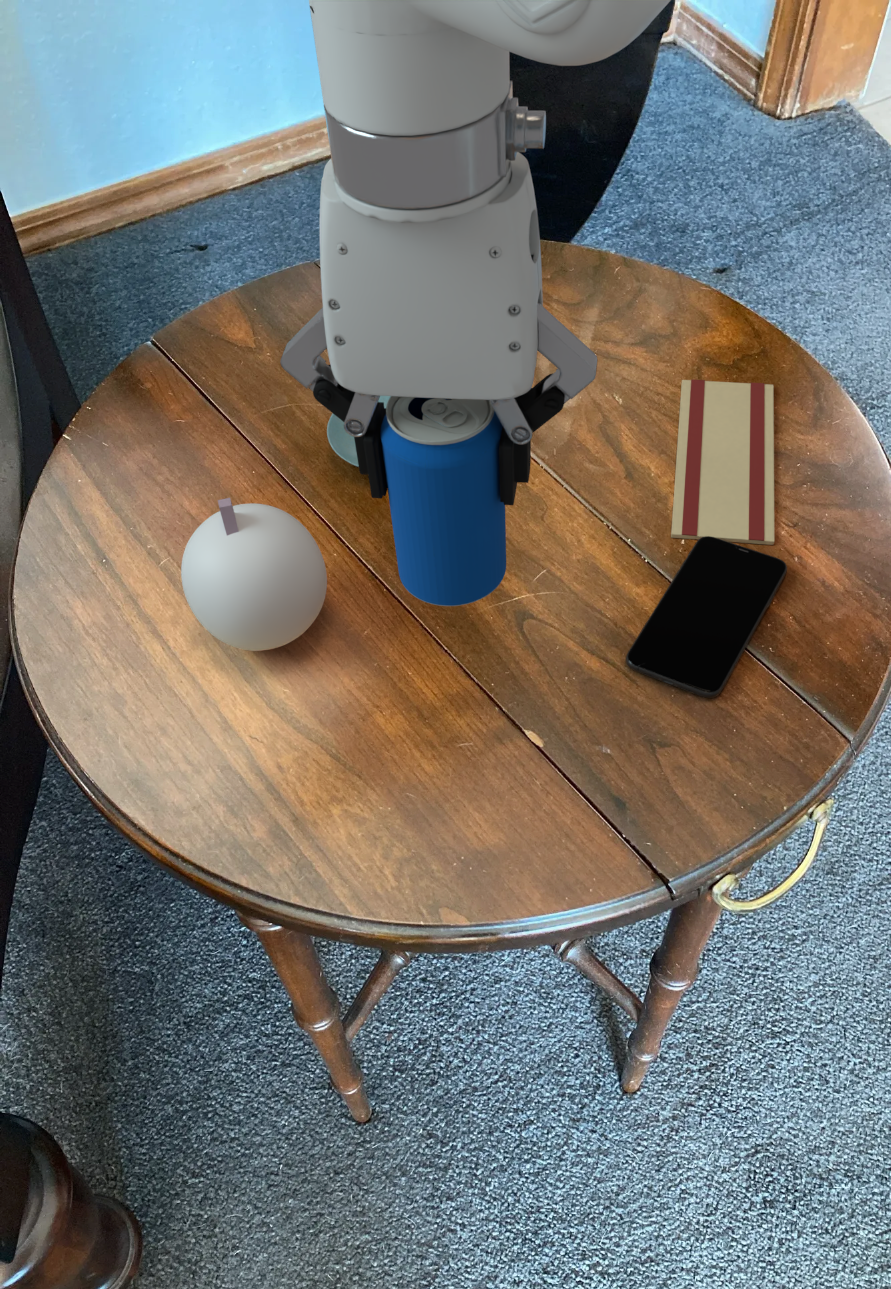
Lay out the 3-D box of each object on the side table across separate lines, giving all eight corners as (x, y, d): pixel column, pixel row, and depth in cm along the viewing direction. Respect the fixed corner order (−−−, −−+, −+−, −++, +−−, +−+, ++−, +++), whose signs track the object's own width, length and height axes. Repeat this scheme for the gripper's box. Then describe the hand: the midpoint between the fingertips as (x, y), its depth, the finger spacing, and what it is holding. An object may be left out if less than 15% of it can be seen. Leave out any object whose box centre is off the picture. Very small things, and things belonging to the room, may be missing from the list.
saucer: (414, 509, 89) (412, 487, 87) (303, 461, 93) (298, 440, 92) (490, 429, 95) (490, 407, 93) (382, 388, 99) (379, 366, 97)
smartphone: (715, 705, 76) (790, 569, 83) (717, 697, 76) (792, 561, 82) (619, 668, 79) (700, 539, 85) (620, 660, 78) (701, 530, 85)
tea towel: (772, 388, 96) (773, 383, 95) (773, 545, 85) (774, 540, 84) (681, 383, 97) (682, 378, 96) (670, 537, 86) (671, 533, 86)
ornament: (177, 620, 84) (132, 499, 74) (288, 559, 87) (259, 435, 77) (246, 699, 79) (207, 581, 69) (360, 632, 82) (339, 510, 72)
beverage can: (452, 524, 68) (439, 353, 58) (528, 572, 65) (529, 401, 55) (378, 579, 65) (351, 411, 56) (453, 632, 63) (440, 464, 53)
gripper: (635, 99, 46) (608, 448, 60) (242, 98, 48) (309, 434, 63) (625, 191, 41) (599, 541, 56) (195, 185, 44) (279, 523, 59)
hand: (446, 482), depth 59 cm, fingers closed on beverage can, 6 cm apart
